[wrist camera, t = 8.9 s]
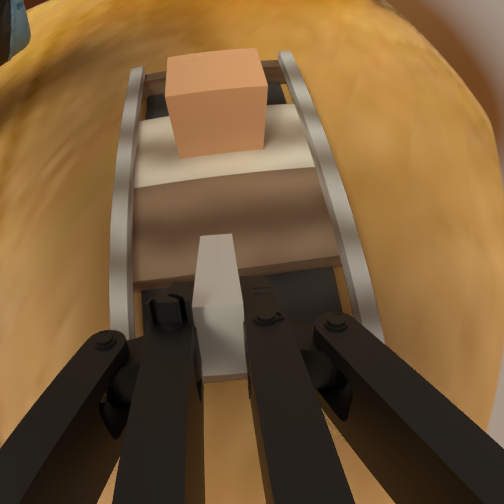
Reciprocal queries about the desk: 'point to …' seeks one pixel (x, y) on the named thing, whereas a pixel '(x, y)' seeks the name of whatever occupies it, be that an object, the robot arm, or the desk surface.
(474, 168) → the desk surface
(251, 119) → the terracotta block
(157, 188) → the rail track section
